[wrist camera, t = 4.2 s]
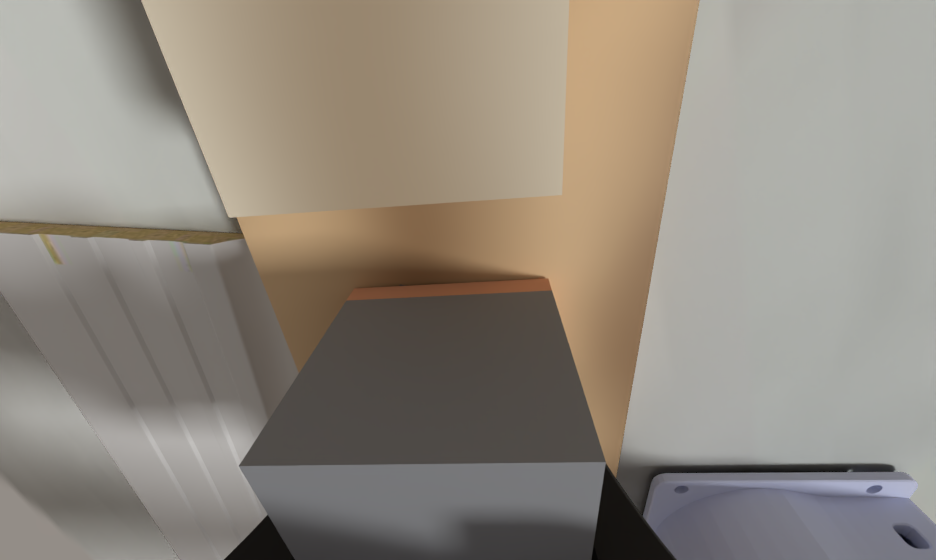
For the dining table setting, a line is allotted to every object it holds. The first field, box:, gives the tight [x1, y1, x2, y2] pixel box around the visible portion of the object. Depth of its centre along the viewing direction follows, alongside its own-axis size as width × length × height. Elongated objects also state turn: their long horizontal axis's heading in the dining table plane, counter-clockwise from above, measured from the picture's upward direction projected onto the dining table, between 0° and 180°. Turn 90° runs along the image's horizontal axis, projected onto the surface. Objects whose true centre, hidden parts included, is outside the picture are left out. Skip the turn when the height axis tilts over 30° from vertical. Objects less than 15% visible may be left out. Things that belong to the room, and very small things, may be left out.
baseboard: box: [0, 221, 299, 560], centre depth 17 cm, size 30×3×10 cm
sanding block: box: [239, 278, 606, 560], centre depth 9 cm, size 5×9×5 cm, turn 5°
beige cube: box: [141, 0, 569, 218], centre depth 5 cm, size 4×4×4 cm
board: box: [237, 0, 700, 478], centre depth 9 cm, size 10×22×2 cm, turn 5°
